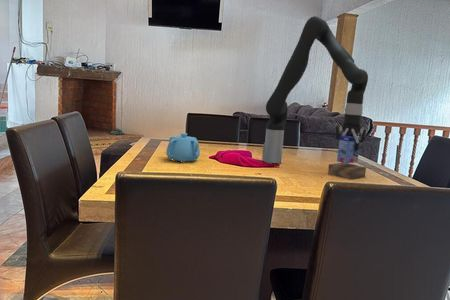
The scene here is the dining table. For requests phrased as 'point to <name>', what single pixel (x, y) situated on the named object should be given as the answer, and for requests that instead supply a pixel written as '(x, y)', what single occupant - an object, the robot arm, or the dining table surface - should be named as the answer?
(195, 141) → the decorative pot
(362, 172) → the walnut block
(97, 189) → the dining table surface
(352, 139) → the ink cartridge box
